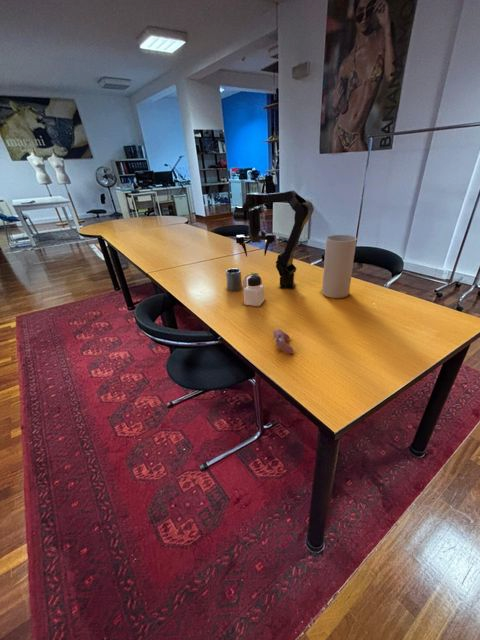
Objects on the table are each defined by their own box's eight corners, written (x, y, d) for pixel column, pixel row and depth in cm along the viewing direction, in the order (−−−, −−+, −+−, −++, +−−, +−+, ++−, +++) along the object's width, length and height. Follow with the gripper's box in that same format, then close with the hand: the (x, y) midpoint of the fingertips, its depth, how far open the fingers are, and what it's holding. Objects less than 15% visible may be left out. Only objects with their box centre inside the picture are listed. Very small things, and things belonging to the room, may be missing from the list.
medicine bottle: (264, 300, 134) (263, 274, 128) (259, 306, 129) (258, 280, 122) (250, 298, 136) (248, 273, 130) (244, 304, 131) (242, 278, 124)
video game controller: (278, 343, 105) (269, 328, 102) (290, 337, 105) (281, 322, 101) (282, 359, 97) (273, 343, 94) (295, 353, 96) (285, 337, 93)
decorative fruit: (254, 297, 137) (253, 276, 132) (240, 293, 142) (239, 273, 136) (266, 291, 144) (265, 271, 138) (252, 287, 148) (251, 268, 142)
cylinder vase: (316, 294, 138) (320, 238, 125) (330, 286, 146) (336, 233, 132) (340, 301, 131) (347, 242, 118) (353, 292, 139) (362, 237, 125)
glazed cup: (244, 286, 150) (242, 268, 145) (238, 291, 144) (237, 273, 139) (230, 285, 152) (229, 267, 147) (225, 290, 146) (223, 272, 141)
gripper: (235, 227, 133) (237, 261, 141) (276, 225, 134) (276, 259, 142) (234, 222, 142) (237, 255, 150) (273, 220, 143) (273, 253, 152)
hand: (255, 256), depth 149 cm, fingers open, 9 cm apart
